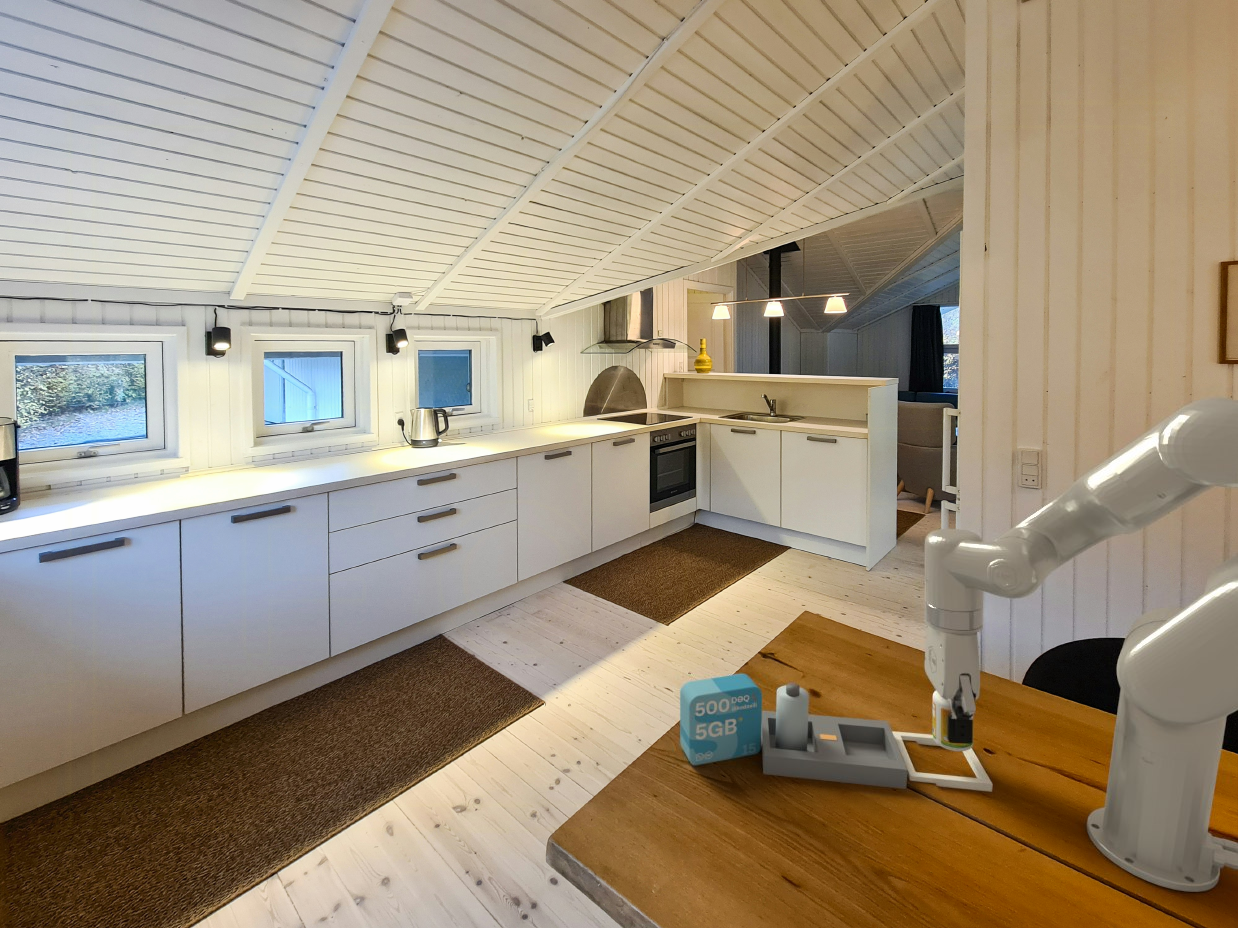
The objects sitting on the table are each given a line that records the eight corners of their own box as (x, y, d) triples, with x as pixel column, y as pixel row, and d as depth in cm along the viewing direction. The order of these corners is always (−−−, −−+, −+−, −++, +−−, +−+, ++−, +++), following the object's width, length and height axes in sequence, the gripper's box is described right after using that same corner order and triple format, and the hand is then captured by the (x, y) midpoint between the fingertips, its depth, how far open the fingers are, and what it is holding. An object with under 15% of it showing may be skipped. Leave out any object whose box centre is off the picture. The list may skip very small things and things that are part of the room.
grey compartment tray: (886, 740, 101) (887, 720, 100) (905, 791, 89) (907, 768, 88) (760, 729, 104) (761, 709, 104) (763, 776, 93) (763, 754, 92)
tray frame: (964, 744, 99) (965, 737, 99) (991, 791, 89) (992, 784, 88) (891, 737, 101) (892, 731, 101) (909, 783, 91) (910, 775, 90)
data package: (689, 769, 95) (689, 697, 93) (679, 751, 99) (679, 682, 97) (761, 755, 98) (762, 685, 96) (748, 738, 102) (750, 671, 100)
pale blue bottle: (805, 743, 99) (807, 679, 97) (808, 762, 95) (810, 695, 93) (774, 740, 100) (776, 676, 98) (776, 759, 96) (777, 693, 94)
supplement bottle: (981, 747, 91) (982, 685, 90) (952, 755, 90) (952, 692, 88) (952, 728, 96) (952, 669, 95) (924, 736, 95) (924, 676, 93)
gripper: (910, 594, 99) (910, 700, 102) (944, 638, 83) (943, 763, 85) (960, 594, 98) (960, 701, 100) (1006, 639, 81) (1004, 766, 84)
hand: (952, 728), depth 93 cm, fingers closed on supplement bottle, 5 cm apart
